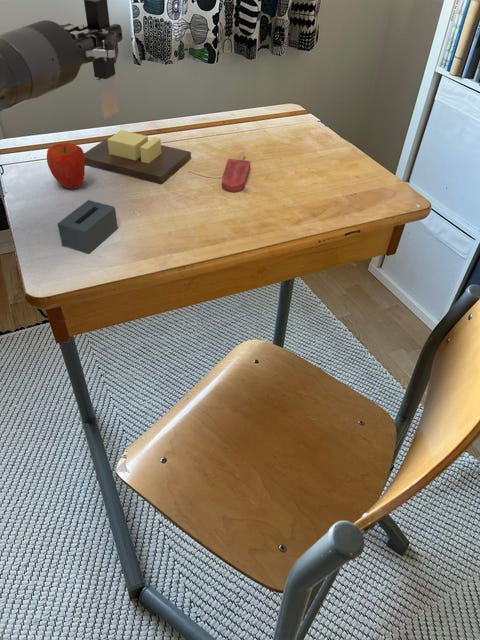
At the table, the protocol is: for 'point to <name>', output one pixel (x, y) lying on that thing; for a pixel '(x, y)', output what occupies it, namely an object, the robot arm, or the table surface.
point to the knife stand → (88, 226)
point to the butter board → (138, 163)
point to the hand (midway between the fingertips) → (111, 30)
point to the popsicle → (235, 174)
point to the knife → (102, 59)
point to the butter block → (126, 144)
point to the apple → (67, 164)
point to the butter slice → (150, 150)
